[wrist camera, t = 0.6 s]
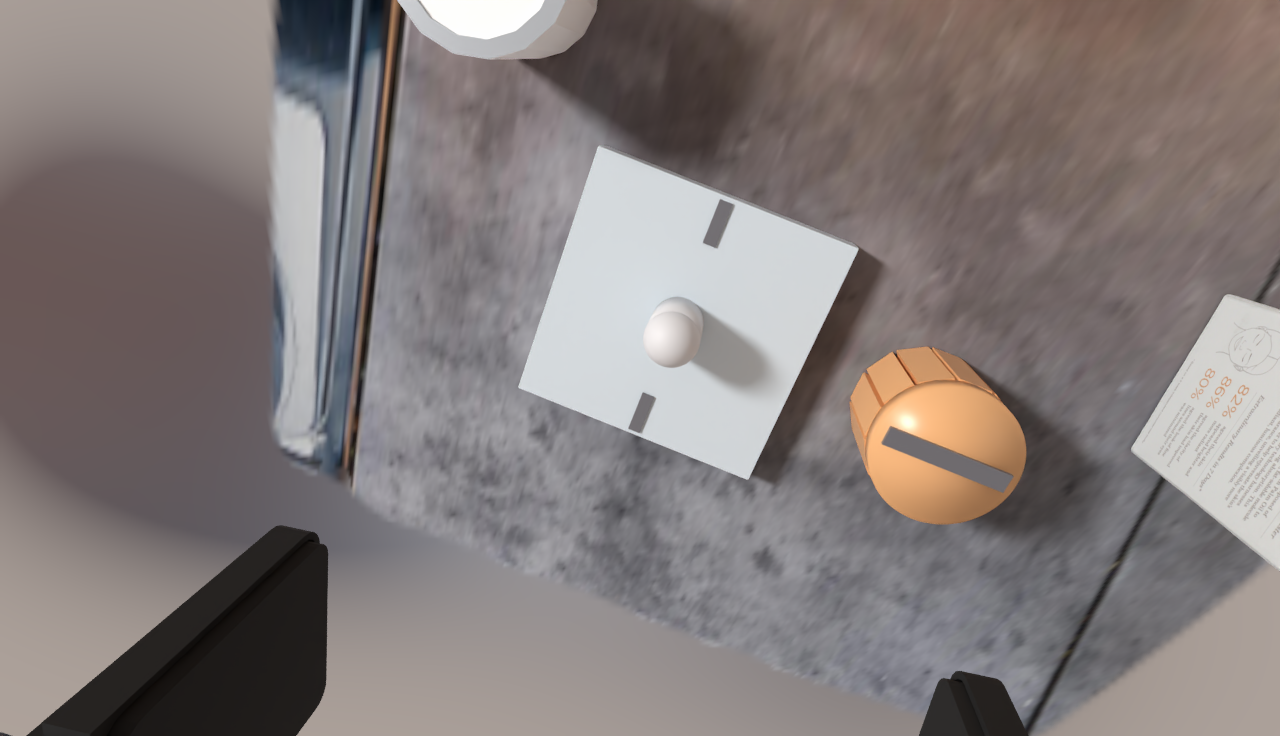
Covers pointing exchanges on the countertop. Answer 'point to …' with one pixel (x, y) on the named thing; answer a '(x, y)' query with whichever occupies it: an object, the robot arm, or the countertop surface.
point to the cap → (935, 437)
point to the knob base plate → (682, 311)
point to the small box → (1226, 425)
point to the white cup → (502, 25)
